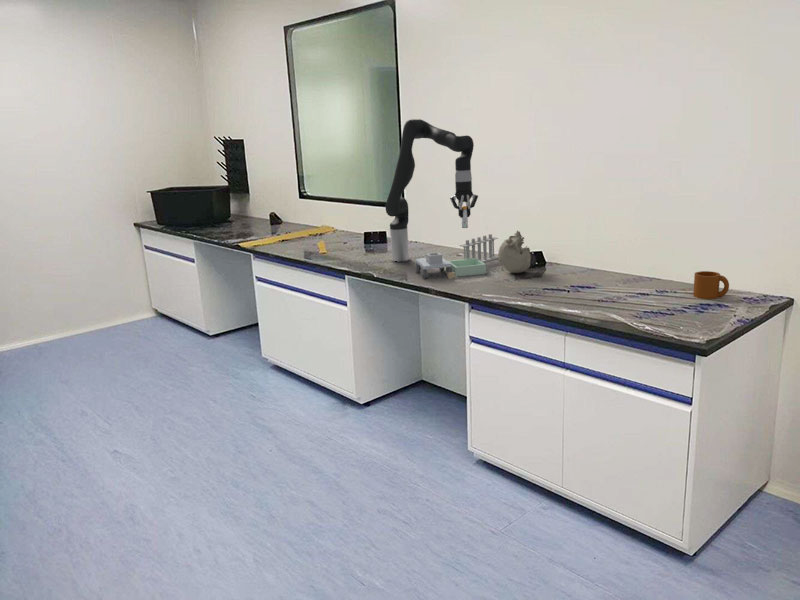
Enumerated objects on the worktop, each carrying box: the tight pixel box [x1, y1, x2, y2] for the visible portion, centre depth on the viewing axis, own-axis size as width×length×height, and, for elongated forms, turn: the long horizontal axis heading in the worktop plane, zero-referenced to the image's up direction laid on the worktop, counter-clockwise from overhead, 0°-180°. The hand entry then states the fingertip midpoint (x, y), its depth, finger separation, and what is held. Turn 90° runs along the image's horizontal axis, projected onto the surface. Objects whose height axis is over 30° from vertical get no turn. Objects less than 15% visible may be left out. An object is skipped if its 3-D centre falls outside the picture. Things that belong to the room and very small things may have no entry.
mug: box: [692, 270, 730, 300], centre depth 239 cm, size 9×12×9 cm
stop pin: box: [461, 205, 469, 229], centre depth 294 cm, size 3×3×10 cm
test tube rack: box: [459, 233, 499, 264], centre depth 317 cm, size 25×4×13 cm, turn 133°
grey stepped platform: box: [414, 251, 456, 280], centre depth 298 cm, size 20×14×10 cm
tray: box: [447, 257, 487, 278], centre depth 301 cm, size 15×15×4 cm
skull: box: [497, 230, 531, 274], centre depth 291 cm, size 13×15×20 cm
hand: (464, 216), depth 294 cm, fingers closed on stop pin, 2 cm apart
